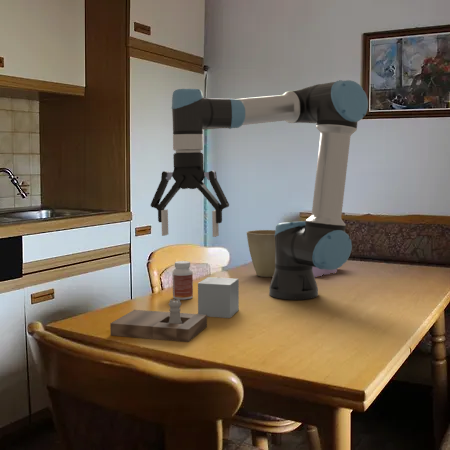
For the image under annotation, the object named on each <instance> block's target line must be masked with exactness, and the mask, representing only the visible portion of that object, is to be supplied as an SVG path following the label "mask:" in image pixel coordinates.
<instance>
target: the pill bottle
mask: <svg viewBox="0 0 450 450" xmlns="http://www.w3.org/2000/svg"><path fill="white" fill-rule="evenodd" d="M174 267H175V269H173V271H172V298H173V299H175V300H176V299H178V300H180V301H181V300H183V301H184V300H190V299H192V298H193V297H194V286H193V285H194V282H193V281H194V279H193V278H194V277H193V274H194V273H193V270H192V269H191V268H190V267H191V261H187V260H185V261H184V260H180V261H175V262H174Z"/></svg>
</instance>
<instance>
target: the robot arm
mask: <svg viewBox="0 0 450 450" xmlns="http://www.w3.org/2000/svg"><path fill="white" fill-rule="evenodd" d="M363 89H364V88H363V87H362V86H361V85H360V84H359V83H358V82H356V81H355V80H349V79H346V80H341V79H340V80H339V79H338V80H336V81H331V82H325V83H318V84H314V85H311V86H306V87H304V88H299V89H295V90H288V91H285V92H284V93H283V94H280V95H279V94H277V95H267V96H256V97H246V98H245V97H244V98H243V97H242V98H236V99H235V98H231V97H230V98H211V97H210V98H209V97H208V98H207V97H204V95H203V91H202V90H201V89H200V88H178V89H175V90H173V91H172V97H171V98H172V99H171V111H172V113H171V114H172V150H173V151H174V153H173V158H172V159H173V172H171V171H168V170H165V171H164V170H163V171H162V172H161V177H160V178H161V179H160V182H159V184H158V186H157V188H156V191H155V193H154V196H153V197H152V200H151V202H150V207H151V208H154V209H156V210H157V221H158V223H161V236H167V235H169V210H168V209H166V207H167V206H168V205H169V204H170V202H171V201H172V199H173V198H174V197H175V196H176V194H177V193H178V192H179V190H181V189H182V190H186V189H189V190H195V189H196V190H198V191H199V192H200V193H201V194H202V195H203V196H204V197H205V199H206V200H207V201H208V203H209V204H210V205H211V206H212V208H214V210H212V211H211V216H212V220H211V221H212V223H211V224H212V237H213V238H217V237H218V236H219V235H220V234H219V231H220V230H219V224H221V223H222V221H223V210H224V209H226V208H228V207H230V203H229V201H228V199H227V197H226V195H225V193H224V191H223V189H222V187H221V185H220V183H219V181H218V179H217V171H216V170H210V171H206V172H205V169H204V153H203V152H201V151H203V150H204V134H203V133H204V131H205V130H215V129H216V130H217V129H229V130H231V129H238V128H241V127H242V126H247V125H248V126H249V125H257V124H267V123H275V122H284V121H285V122H286V123H288V124H295V123H297V124H299V123H300V124H303V123H304V124H316V125H315V127H316V129H317V130H318V132H319V133H320V135H319V143H318V144H319V146H318V152H317V153H318V154H317V162H316V163H317V164H316V172H315V173H316V174H315V181H314V190H313V199H312V207H311V215H310V216H309V217H308V218H307V219H305V220H301V221H291V222H288V221H287V222H279V223H277V224H276V225H275V229H274V230H275V272H274V275H273V277H272V279H271V281H270V284H269V288H268V290H269V291H268V293H269V294H268V295H269V296H271V298H275V299H276V298H277V299H281V300H290V301H298V300H300V301H301V300H311V299H315V298H317V297H318V296H319V288H318V283H317V282H316V281H317V280H316V277H314V274H313V267H317V268H319V269H327V270H334V269H337V270H338V269H339V268H341V267H342V266H343V265H344V264H346V262H347V261H348V260H349V257H350V255H351V253H352V249H353V248H352V247H353V245H352V239H350V235H349V234H348V233H347V232H346V225H347V224H346V223H345V222H344V220H343V219H342V215H343V207H344V205H343V204H344V196H345V187H346V179H347V170H348V162H349V153H350V151H349V150H350V143H351V136H352V135H353V134H354V133H355V132H357V129H358V122H359V121H361V120H363V118H364V117H365V116H366V114H367V112H368V109H369V100H368V96H367V93H366V91H365V90H363ZM172 178H173V180H174V181H175V182H174V184H172V186H171V188H170V189H169V191H168V192H167V194H166V195H165V196H164V197H163V195H164V193H165V190H166V189H167V186H168V184H169V181H170V180H171V179H172ZM205 178H206V180H208V181H209V182H210V185H211V187H212V190H213V191H214V193H215V195H216V197H217V198H216V197H215V195H213V194H212V192H211V191H210V190H209V188H208V187H207V185H206V184H205V183H204V182H203V181H204V179H205ZM162 197H163V199H162Z"/></svg>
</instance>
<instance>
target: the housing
mask: <svg viewBox="0 0 450 450" xmlns="http://www.w3.org/2000/svg"><path fill="white" fill-rule="evenodd" d="M239 286H240V285H239V278H232V277H231V278H230V277H216V276H215V277H210V276H207V277H206V278H204V279H203V280H201V281H199V282H197V314H202V315H207V318H208V317H209V318H210V317H211V318H224V319H230V318H232V317H233V316H234V315H235V314H236V313H238V311H239V307H240V306H239V304H240V302H239V301H240V300H239V299H240V296H239V294H240V293H239V292H240V291H239V288H240V287H239Z"/></svg>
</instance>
